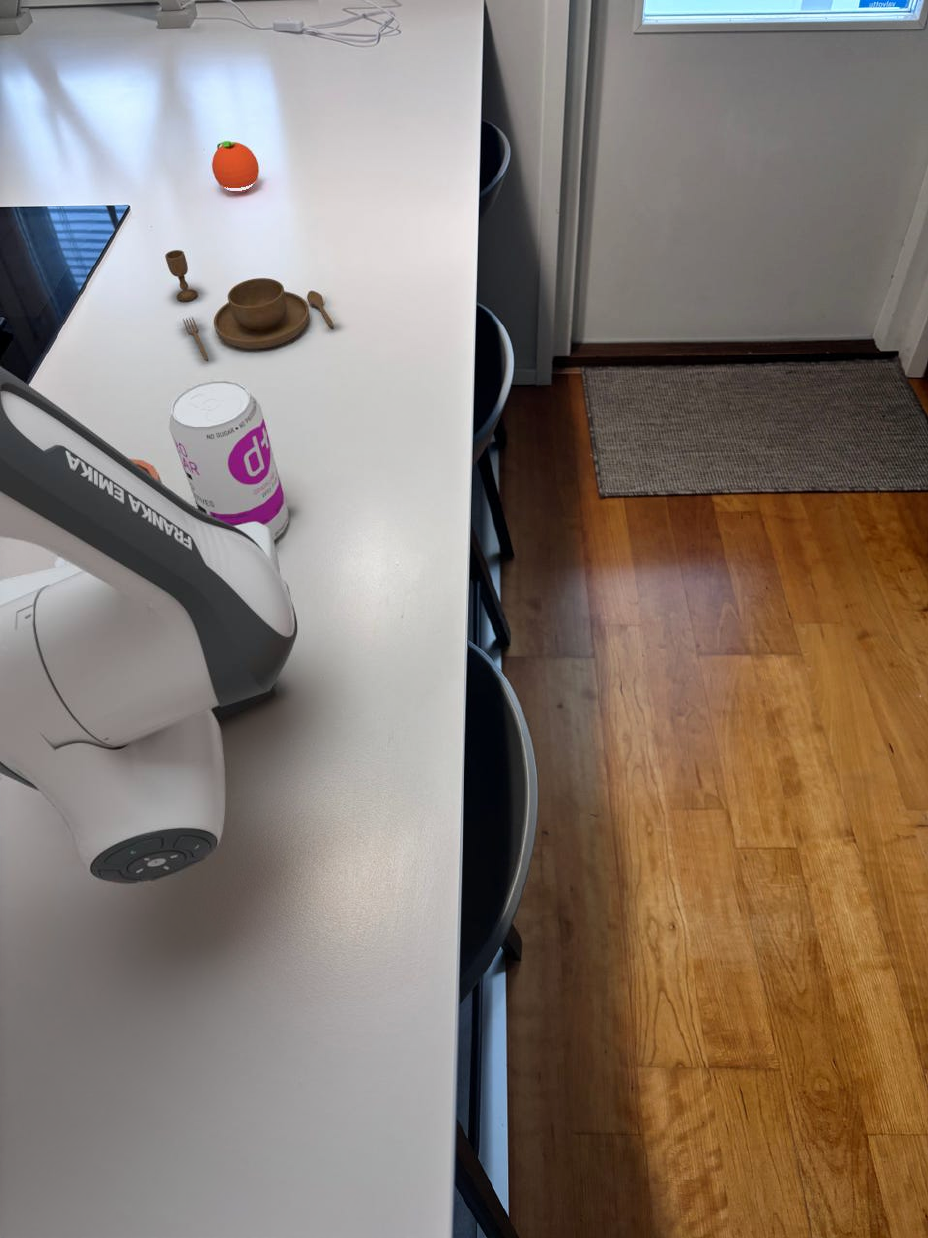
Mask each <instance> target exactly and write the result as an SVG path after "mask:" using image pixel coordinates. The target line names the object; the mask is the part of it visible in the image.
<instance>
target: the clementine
mask: <svg viewBox="0 0 928 1238" xmlns="http://www.w3.org/2000/svg"><path fill="white" fill-rule="evenodd" d="M216 145H217V146H216V151H215V152H214V154H213V157H212V162H211V168H212V173H213V175H214V178H215V181H216V182H217V183H218V184H219V185H220V186H221V187H222V186H223V187H226V188H227V187H228V188H241V187H246V186H249V185H251V184H253V183H254V182H255V181H256V182H257V180H258V178H259V172H260V168H259V167H260V166H259V162H258V160H257V157H256V156H255V153H254V152H253V151H252V150H251V149H250V148H249V147H248V146H247V145H245V144H242V143H240V142H236V141H229V140H226V141H225V140H224V141H222V142H220V143H218V144H216ZM256 182H255V183H256ZM223 187H222V188H223ZM250 189H252V187H250V188H249V189H246V190H242V191H229V190H227V191H228V192H231V193H235V194H236V193H243V192H247V191H249V190H250Z"/></svg>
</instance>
